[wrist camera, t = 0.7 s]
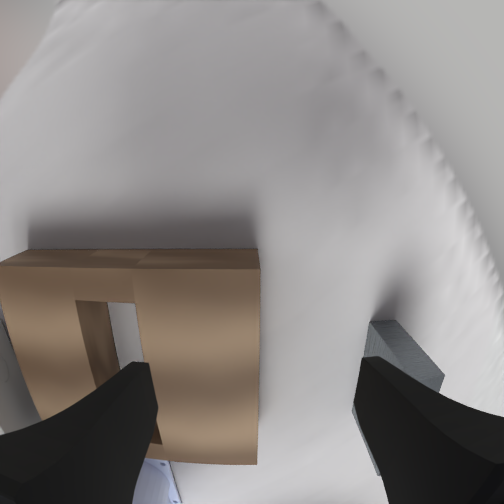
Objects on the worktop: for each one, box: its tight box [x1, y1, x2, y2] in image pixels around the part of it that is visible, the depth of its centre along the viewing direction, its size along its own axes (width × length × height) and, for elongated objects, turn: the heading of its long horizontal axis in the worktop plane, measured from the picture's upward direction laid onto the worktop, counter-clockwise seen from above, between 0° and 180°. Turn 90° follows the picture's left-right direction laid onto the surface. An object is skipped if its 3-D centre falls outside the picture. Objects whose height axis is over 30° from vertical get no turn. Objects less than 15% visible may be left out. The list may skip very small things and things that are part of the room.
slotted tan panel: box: [0, 249, 260, 465], centre depth 19 cm, size 14×16×4 cm
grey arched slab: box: [0, 319, 42, 435], centre depth 18 cm, size 17×5×10 cm, turn 11°
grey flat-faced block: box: [352, 320, 445, 476], centre depth 18 cm, size 8×2×7 cm, turn 0°
